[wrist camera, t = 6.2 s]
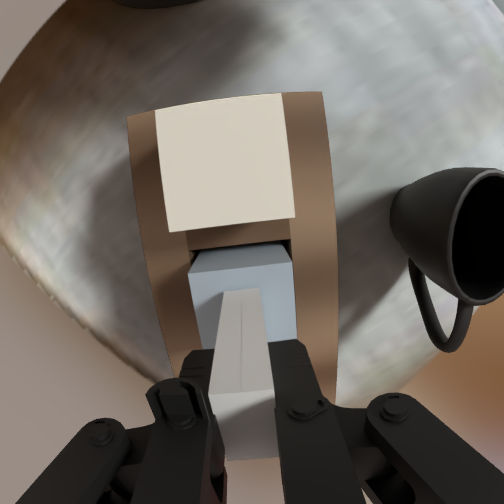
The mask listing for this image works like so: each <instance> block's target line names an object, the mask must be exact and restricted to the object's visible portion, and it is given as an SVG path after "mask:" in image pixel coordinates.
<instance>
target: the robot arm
mask: <svg viewBox="0 0 504 504" xmlns="http://www.w3.org/2000/svg"><path fill="white" fill-rule="evenodd" d="M114 1H116V2H117V3H120V4H123V5H126V6H130V7H137V8H161V7H169V6H176V5H181V4H185V3H189V2H193V1H196V0H114ZM146 398H147V400H148V402H149V405H150V407H151V410H152V412H153V415H154V417H155V423H153V424H151V425H147V426H143V427H138V428H132V429H126V430H125V428H124V427H123V425H122V424H121V423H120V422H119V421H117V420H115V419H111V418H100V419H96V420H93V421H91V422H89V423H87V424H86V425H85V426H84V427H82V428H81V430H80V431H79V432H78V433H77V434H76V435H75V436H74V438H73V439H72V440H71V441H70V442H69V443H68V444H67V445H66V446H65V448H64V449H63V450H62V451H61V452H60V453H59V454H58V456H57V457H56V458H55V459H54V460H53V461H52V462H51V463H50V465H49V466H48V467H47V468H46V469H45V470H44V471H43V473H42V474H41V475H40V476H39V477H38V478H37V479H36V480H35V482H34V483H33V484H32V485H31V486H30V487H29V489H28V490H27V491H26V492H25V493H24V494H23V495H22V496H21V498H20V499H19V500H18V501H17V502H16V503H15V504H226V502H227V501H226V500H227V473H226V469H225V466H224V459H225V455H226V458H227V461H233V460H249V459H262V458H271V457H279V458H280V466H281V476H282V485H283V492H284V501H285V504H366V501H365V498H364V495H363V492H362V489H363V491H364V492H365V493H366V495H367V496H368V498H369V499H370V500H371V502H372V503H373V504H504V474H503V473H502V472H501V471H500V470H499V469H497V468H496V467H495V466H494V465H493V464H492V463H490V462H489V461H488V460H487V459H486V458H484V457H483V456H482V455H481V454H480V453H478V452H477V451H476V450H475V449H474V448H473V447H471V446H470V445H469V444H468V443H466V442H465V441H464V440H463V439H462V438H461V437H459V436H458V435H457V434H456V433H455V432H453V431H452V430H451V429H450V428H449V427H448V426H446V425H445V424H444V423H443V422H442V421H440V420H439V419H438V418H437V417H436V416H435V415H433V414H432V413H431V412H430V411H429V410H427V409H426V408H425V407H424V406H423V405H421V404H420V403H419V402H418V401H417V400H416V399H414V398H412V397H411V396H409V395H406V394H402V393H386V394H383V395H380V396H378V397H376V398H375V399H373V400H372V401H371V402H370V404H369V405H368V407H367V408H343V407H339V406H336V405H334V404H332V403H330V401H329V400H328V399H327V398H326V397H324V396H323V394H322V392H321V389H320V386H319V383H318V381H317V378H316V375H315V372H314V369H313V366H312V364H311V361H310V358H309V355H308V352H307V349H306V346H305V345H304V344H303V343H301V342H300V341H299V340H297V339H290V340H282V341H274V342H267V336H266V329H265V322H264V315H263V308H262V301H261V295H260V288H252V289H243V290H234V291H225V292H224V295H223V301H222V307H221V314H220V320H219V326H218V332H217V339H216V345H215V349H201V350H192V351H191V352H190V353H189V354H188V355H187V356H186V357H185V358H184V361H183V364H182V367H181V371H180V374H179V378H171V379H166V380H163V381H161V382H158V383H156V384H155V385H154V386H152V387H151V388H150V389H149V390H148V392H147V393H146ZM361 488H362V489H361Z"/></svg>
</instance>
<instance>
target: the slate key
mask: <svg viewBox="0 0 504 504" xmlns="http://www.w3.org/2000/svg"><path fill="white" fill-rule="evenodd" d="M188 278H189V284H190V289H191V294H192V300H193V305H194V310H195V315H196V320H197V325H198V329H199V334H200V339H201V343H202V348H203V349H215V345H216V339H217V332H218V326H219V320H220V314H221V307H222V301H223V295H224V292H225V291H234V290H243V289H252V288H260V295H261V301H262V308H263V315H264V322H265V329H266V336H267V342H274V341H282V340H290V339H297V327H296V311H295V295H294V280H293V267H292V261H291V259H290V257H289V256H288V254H287V252H286V250H285V249H284V247H283V245H282V243H281V242H280V240H274V241H266V242H257V243H248V244H239V245H231V246H222V247H214V248H205V249H202V250H201V251H200V253H199V255H198V257H197V258H196V260H195V262H194V264H193V265H192V267H191V269H190V271H189V272H188Z"/></svg>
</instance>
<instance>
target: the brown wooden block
mask: <svg viewBox="0 0 504 504" xmlns="http://www.w3.org/2000/svg"><path fill="white" fill-rule="evenodd" d="M270 94H274V93H270ZM257 95H260V94H257ZM281 95H282V102H283V110H284V118H285V126H286V134H287V142H288V151H289V160H290V169H291V178H292V188H293V198H294V209H295V218H285V219H276V220H267V221H258V222H249V223H240V224H232V225H223V226H215V227H207V228H199V229H191V230H184V231H176V232H169V227H168V221H167V214H166V207H165V200H164V193H163V185H162V177H161V169H160V160H159V151H158V141H157V130H156V118H155V110H152V111H148V112H143V113H139V114H135V115H131V116H127V128H128V141H129V152H130V161H131V170H132V179H133V187H134V194H135V201H136V208H137V215H138V221H139V227H140V233H141V239H142V244H143V250H144V255H145V260H146V265H147V270H148V275H149V280H150V284H151V289H152V293H153V298H154V302H155V306H156V310H157V315H158V319H159V323H160V326H161V330H162V334H163V338H164V342H165V345H166V349H167V352H168V356H169V359H170V363H171V366H172V370H173V373H174V376H175V378H179V374H180V371H181V367H182V364H183V361H184V358H185V357H186V356H187V355H188V354H189V353H190V352H191V351H192V350H201V349H203V348H202V343H201V339H200V334H199V329H198V325H197V320H196V315H195V310H194V305H193V300H192V294H191V289H190V284H189V278H188V272H189V271H190V269H191V267H192V265H193V264H194V262H195V260H196V258H197V257H198V255H199V253H200V251H201V250H202V249H205V248H214V247H222V246H231V245H239V244H248V243H257V242H266V241H274V240H280V242H281V243H282V245H283V247H284V249H285V250H286V252H287V254H288V256H289V257H290V259H291V261H292V267H293V280H294V295H295V311H296V327H297V340H299V341H300V342H301V343H303V344H304V345H305V346H306V349H307V352H308V355H309V358H310V361H311V364H312V366H313V369H314V372H315V375H316V378H317V381H318V383H319V386H320V389H321V392H322V394H323V396H324V397H326V398H327V399H328V400H329V401H330V403H332V404H334V405H335V398H336V382H337V360H338V257H337V234H336V217H335V202H334V189H333V178H332V167H331V158H330V149H329V140H328V132H327V124H326V117H325V109H324V103H323V96H322V92H287V93H281ZM247 96H249V95H247ZM237 97H239V96H237ZM229 98H230V97H229ZM221 99H222V98H221ZM213 100H215V99H213ZM206 101H208V100H206ZM200 102H201V101H200ZM194 103H195V102H194ZM188 104H189V103H188ZM182 105H183V104H182ZM177 106H178V105H177ZM172 107H173V106H172ZM166 108H168V107H166ZM162 109H163V108H162ZM157 110H158V109H157Z"/></svg>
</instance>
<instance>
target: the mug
mask: <svg viewBox="0 0 504 504" xmlns="http://www.w3.org/2000/svg"><path fill="white" fill-rule="evenodd" d="M390 225H391V229H392V232H393V234H394V236H395V238H396V239H397V241H398V242H399V243H400V245H401V246H402V248H403V249H404V251H405V252H406V253H407V255H408V256H409V259H408V267H409V274H410V278H411V282H412V285H413V289H414V292H415V295H416V298H417V302H418V305H419V308H420V311H421V315H422V318H423V321H424V324H425V327H426V330H427V333H428V335H429V338H430V339H431V341H432V343H433V344H434V345H435V346H436V347H437V348H438V349H440V350H441V351H443V352H447V353H451V352H454V351H456V350H457V349H458V348H459V347H460V345H461V344H462V342H463V340H464V338H465V336H466V333H467V331H468V328H469V324H470V321H471V317H472V312H473V307H474V306H479V305H486V304H488V303H490V302H493V301H494V300H496V299H497V298H498V297H500V296H501V295H502V294H503V293H504V171H501V170H498V169H495V168H472V167H464V168H452V169H446V170H442V171H439V172H436V173H433V174H431V175H428V176H426V177H423V178H421V179H419V180H417V181H415V182H414V183H412V184H410V185H407V186H405V187H404V188H403V189H401V190H400V192H399V193H398V194H397V195H396V197H395V199H394V201H393V203H392V206H391V211H390ZM425 275H426V276H427V277H428V278H429V279H430V280H432V281H433V282H434V283H436V284H437V285H438V286H440V287H441V288H443V289H444V290H446V291H447V292H449V293H450V294H452V295H453V296H455V297H457V298H458V307H457V314H456V319H455V323H454V327H453V330H452V333H451V335H450V337H449V339H448V338H447V337H446V335H445V334H444V332H443V330H442V328H441V325H440V323H439V320H438V318H437V315H436V312H435V309H434V306H433V303H432V300H431V297H430V294H429V291H428V288H427V284H426V279H425Z"/></svg>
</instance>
